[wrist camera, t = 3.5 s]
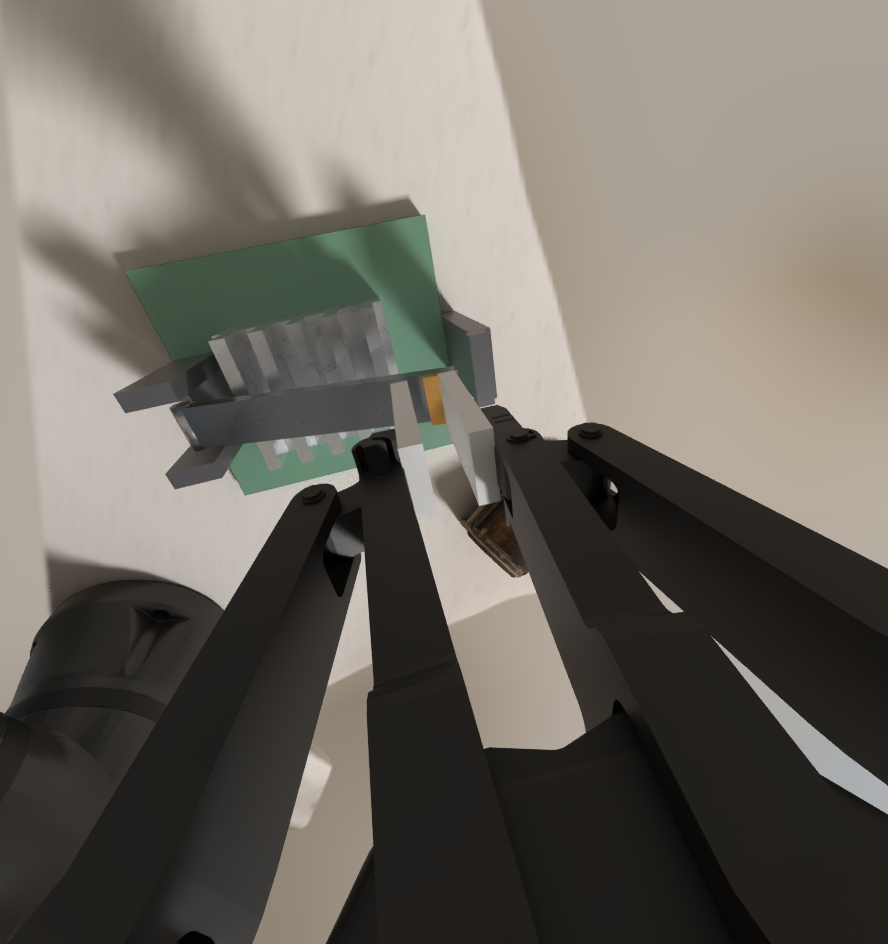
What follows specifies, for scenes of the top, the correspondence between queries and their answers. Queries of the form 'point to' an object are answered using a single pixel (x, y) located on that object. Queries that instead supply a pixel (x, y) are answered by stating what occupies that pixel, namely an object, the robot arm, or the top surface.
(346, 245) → the board
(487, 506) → the antique brown clock
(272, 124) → the top surface
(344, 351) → the heatsink
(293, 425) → the strap
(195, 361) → the grey u-bracket
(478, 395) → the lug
